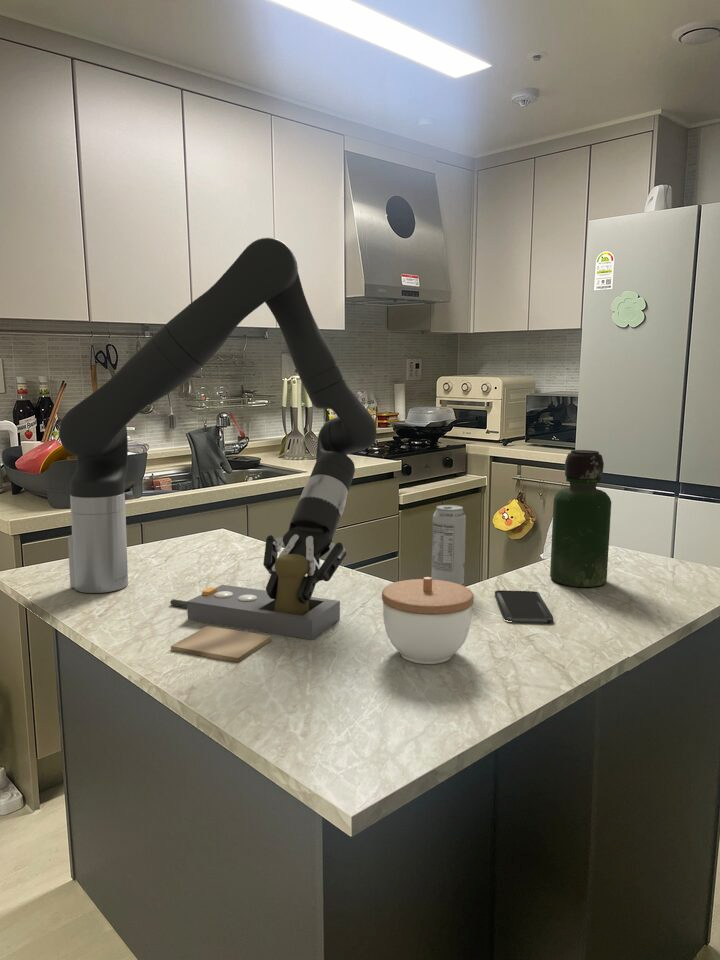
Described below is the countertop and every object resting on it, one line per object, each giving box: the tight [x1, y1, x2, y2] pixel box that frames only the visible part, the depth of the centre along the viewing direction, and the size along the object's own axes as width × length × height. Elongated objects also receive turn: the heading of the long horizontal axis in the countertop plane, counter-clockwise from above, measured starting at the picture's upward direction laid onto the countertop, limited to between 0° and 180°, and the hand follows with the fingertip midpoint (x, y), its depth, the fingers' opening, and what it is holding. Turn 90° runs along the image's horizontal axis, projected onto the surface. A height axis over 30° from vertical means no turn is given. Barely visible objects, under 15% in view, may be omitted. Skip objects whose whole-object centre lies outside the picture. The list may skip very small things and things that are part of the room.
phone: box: [494, 589, 554, 625], centre depth 120 cm, size 8×1×15 cm
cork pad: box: [170, 625, 272, 663], centre depth 102 cm, size 11×9×1 cm
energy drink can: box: [430, 504, 467, 586], centre depth 131 cm, size 6×6×15 cm
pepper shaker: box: [274, 554, 310, 616], centre depth 110 cm, size 6×6×11 cm
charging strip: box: [169, 584, 341, 641], centre depth 114 cm, size 29×10×4 cm, turn 68°
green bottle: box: [549, 449, 612, 588], centre depth 135 cm, size 10×10×25 cm
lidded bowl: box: [381, 576, 474, 665], centre depth 99 cm, size 13×13×11 cm
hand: (286, 598), depth 109 cm, fingers closed on pepper shaker, 4 cm apart
